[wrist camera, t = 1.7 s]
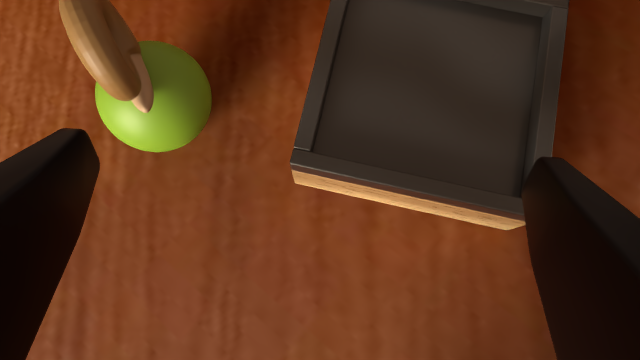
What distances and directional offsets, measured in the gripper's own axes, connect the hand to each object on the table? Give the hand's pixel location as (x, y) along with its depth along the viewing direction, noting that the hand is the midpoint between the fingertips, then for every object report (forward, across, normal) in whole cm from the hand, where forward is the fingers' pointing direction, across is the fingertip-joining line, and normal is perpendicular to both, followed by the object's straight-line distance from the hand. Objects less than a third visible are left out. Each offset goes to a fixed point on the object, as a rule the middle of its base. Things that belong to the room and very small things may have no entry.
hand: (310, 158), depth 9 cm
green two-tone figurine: (+13, +9, +9) cm, 18 cm away
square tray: (+14, -5, +9) cm, 17 cm away
